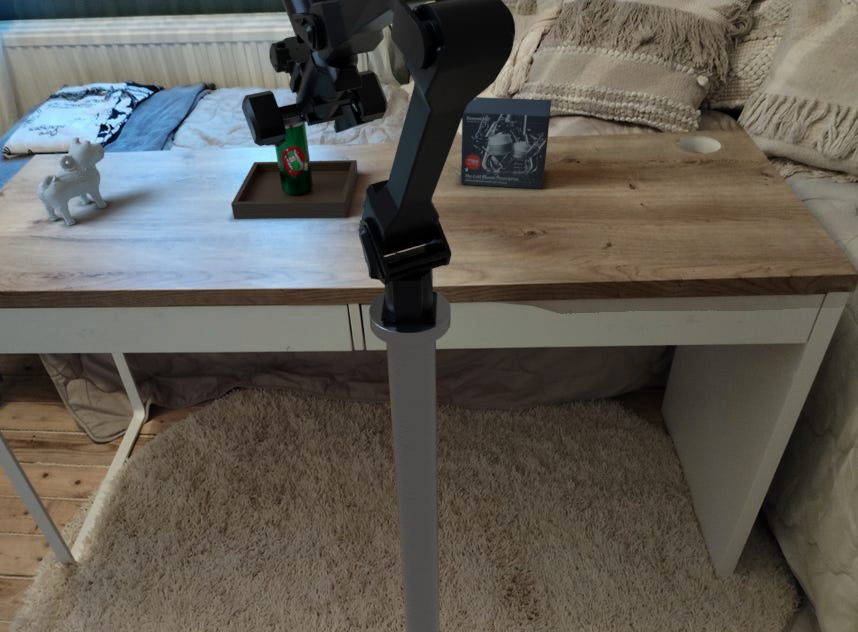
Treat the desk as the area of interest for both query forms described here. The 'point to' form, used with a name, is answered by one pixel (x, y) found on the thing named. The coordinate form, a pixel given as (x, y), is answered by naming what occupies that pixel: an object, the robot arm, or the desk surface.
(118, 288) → the desk surface
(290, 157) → the soda can
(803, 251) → the desk surface
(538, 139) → the small box
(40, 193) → the dog figurine
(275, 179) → the tray
